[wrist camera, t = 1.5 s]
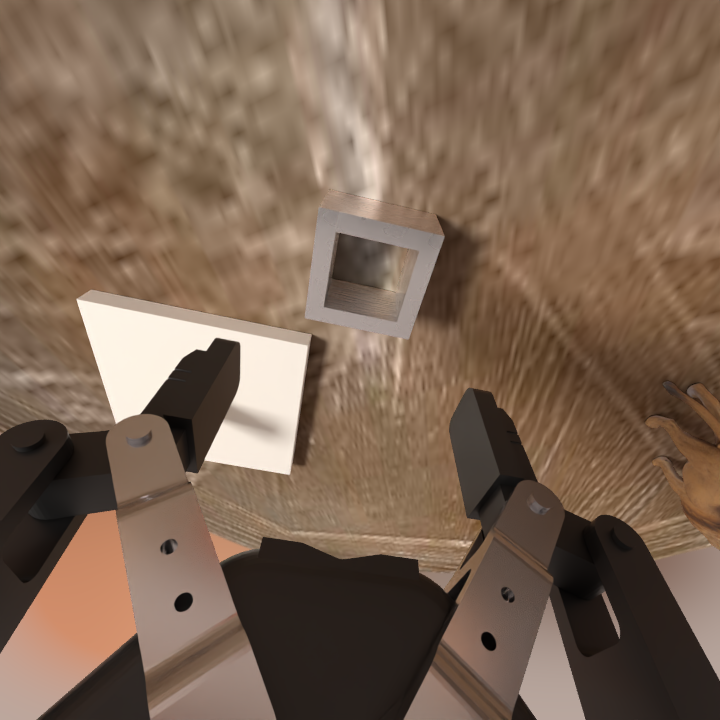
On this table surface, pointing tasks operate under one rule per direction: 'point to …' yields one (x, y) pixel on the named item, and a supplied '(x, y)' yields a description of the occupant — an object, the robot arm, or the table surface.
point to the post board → (197, 331)
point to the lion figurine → (695, 462)
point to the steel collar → (363, 302)
